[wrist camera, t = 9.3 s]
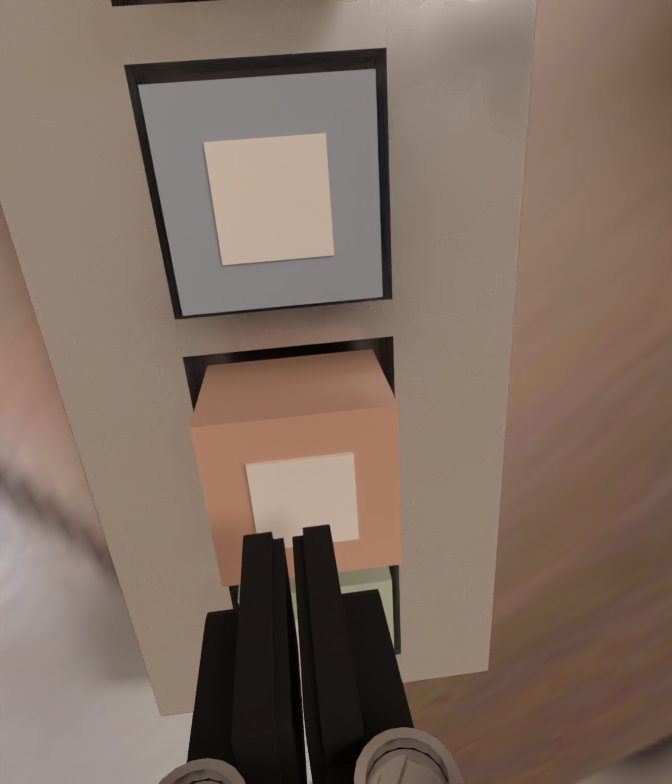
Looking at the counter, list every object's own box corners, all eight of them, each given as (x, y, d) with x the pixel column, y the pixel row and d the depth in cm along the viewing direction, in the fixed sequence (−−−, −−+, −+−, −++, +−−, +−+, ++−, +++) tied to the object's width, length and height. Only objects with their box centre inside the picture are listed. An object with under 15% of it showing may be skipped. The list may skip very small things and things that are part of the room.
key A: (372, 349, 15) (399, 407, 12) (377, 485, 17) (402, 567, 14) (207, 365, 15) (188, 429, 12) (232, 502, 17) (221, 589, 14)
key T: (352, 84, 14) (376, 68, 11) (360, 264, 16) (383, 298, 12) (169, 96, 13) (137, 84, 10) (201, 278, 15) (181, 317, 12)
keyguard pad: (505, -402, 11) (579, -571, 9) (463, 608, 23) (487, 670, 20) (-110, -393, 10) (-244, -578, 8) (174, 646, 22) (161, 716, 20)
